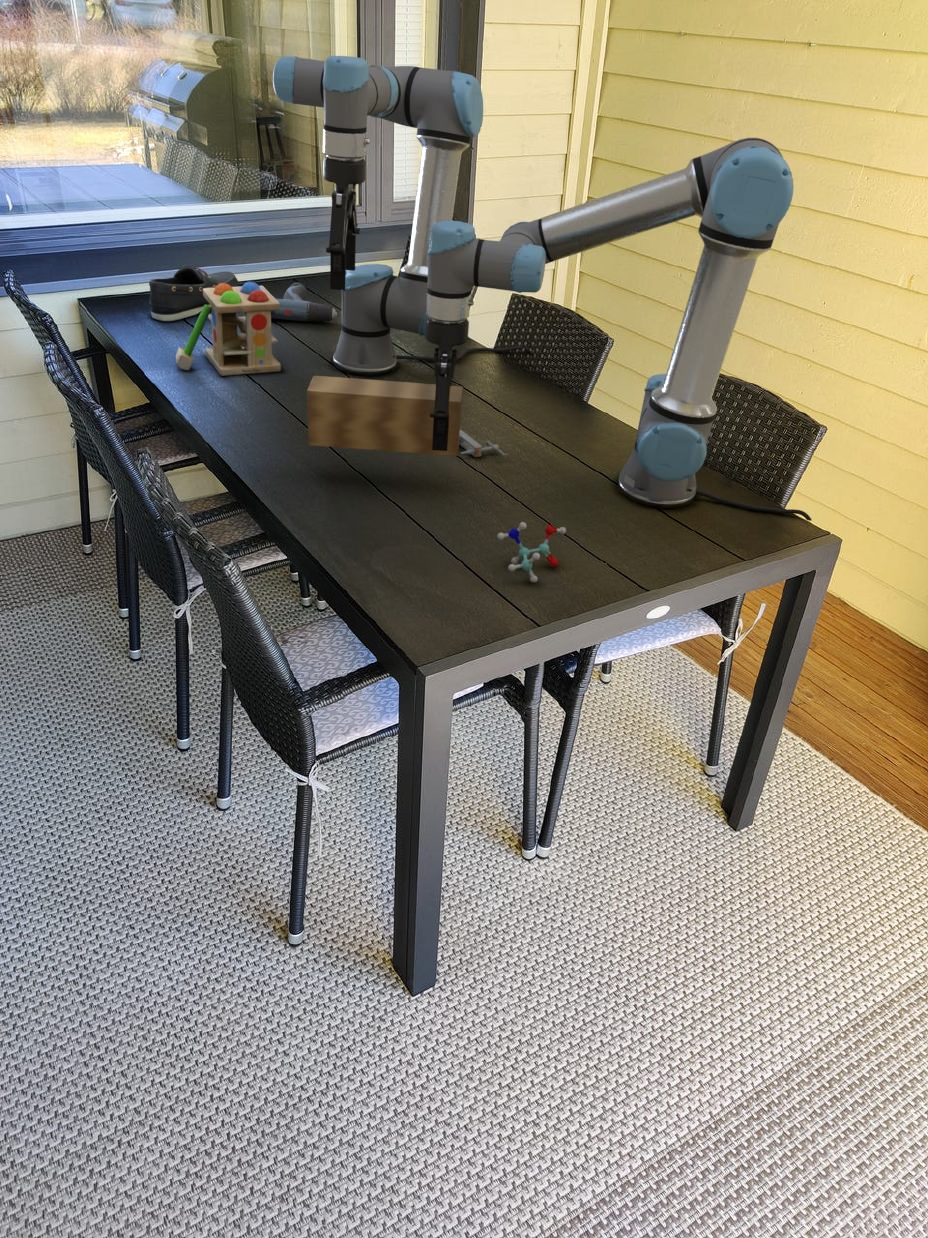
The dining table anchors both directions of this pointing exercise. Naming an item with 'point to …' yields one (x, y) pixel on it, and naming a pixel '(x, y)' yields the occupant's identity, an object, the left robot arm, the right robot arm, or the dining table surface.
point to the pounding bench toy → (229, 347)
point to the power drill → (301, 307)
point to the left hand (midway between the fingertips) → (343, 279)
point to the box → (378, 415)
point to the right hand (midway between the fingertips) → (441, 440)
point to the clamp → (476, 446)
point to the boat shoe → (184, 292)
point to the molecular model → (525, 552)
